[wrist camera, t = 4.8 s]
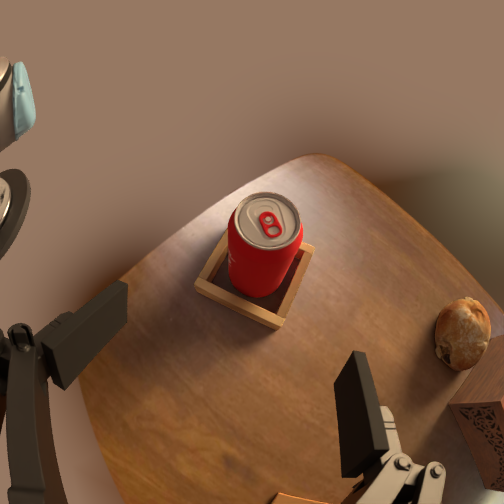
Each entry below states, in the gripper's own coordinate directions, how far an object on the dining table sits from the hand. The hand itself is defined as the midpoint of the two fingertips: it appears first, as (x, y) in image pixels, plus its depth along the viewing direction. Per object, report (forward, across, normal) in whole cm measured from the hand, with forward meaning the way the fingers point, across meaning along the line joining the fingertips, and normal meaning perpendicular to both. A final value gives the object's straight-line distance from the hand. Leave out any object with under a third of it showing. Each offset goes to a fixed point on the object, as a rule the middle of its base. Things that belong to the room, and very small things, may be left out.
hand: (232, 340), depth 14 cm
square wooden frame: (+18, 0, -4) cm, 18 cm away
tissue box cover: (+7, +45, -14) cm, 48 cm away
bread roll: (+17, +30, -4) cm, 35 cm away
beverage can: (+18, 0, -4) cm, 18 cm away
